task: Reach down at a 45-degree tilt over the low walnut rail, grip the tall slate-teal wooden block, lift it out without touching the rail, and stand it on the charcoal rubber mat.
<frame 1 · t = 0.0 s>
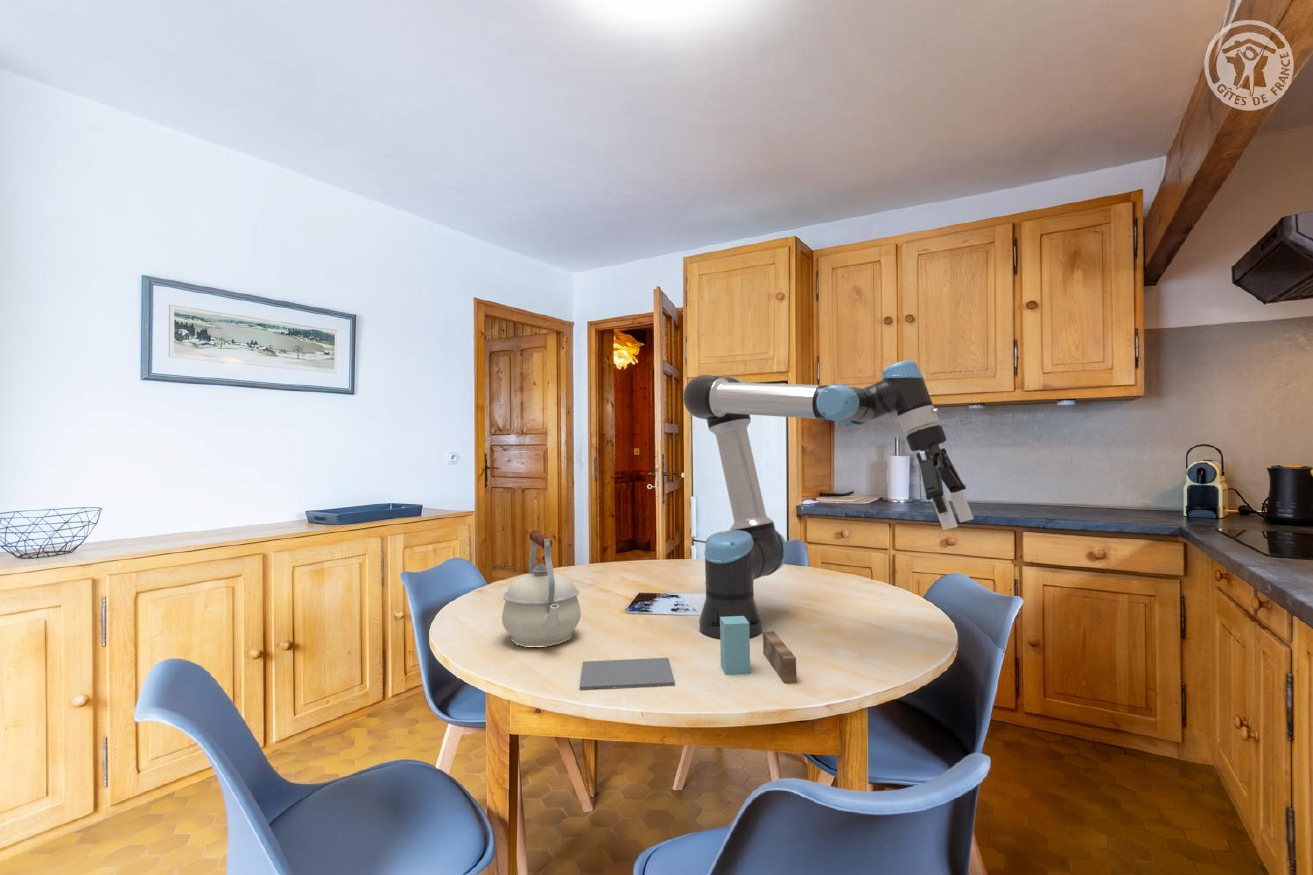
hand: (959, 524, 125), 28 cm above the table, tool tilted 20°, fingers open, 13 cm apart
rail: (778, 668, 122), on the table
kettle: (543, 641, 141), on the table
mat: (626, 674, 119), on the table
block: (735, 669, 121), on the table
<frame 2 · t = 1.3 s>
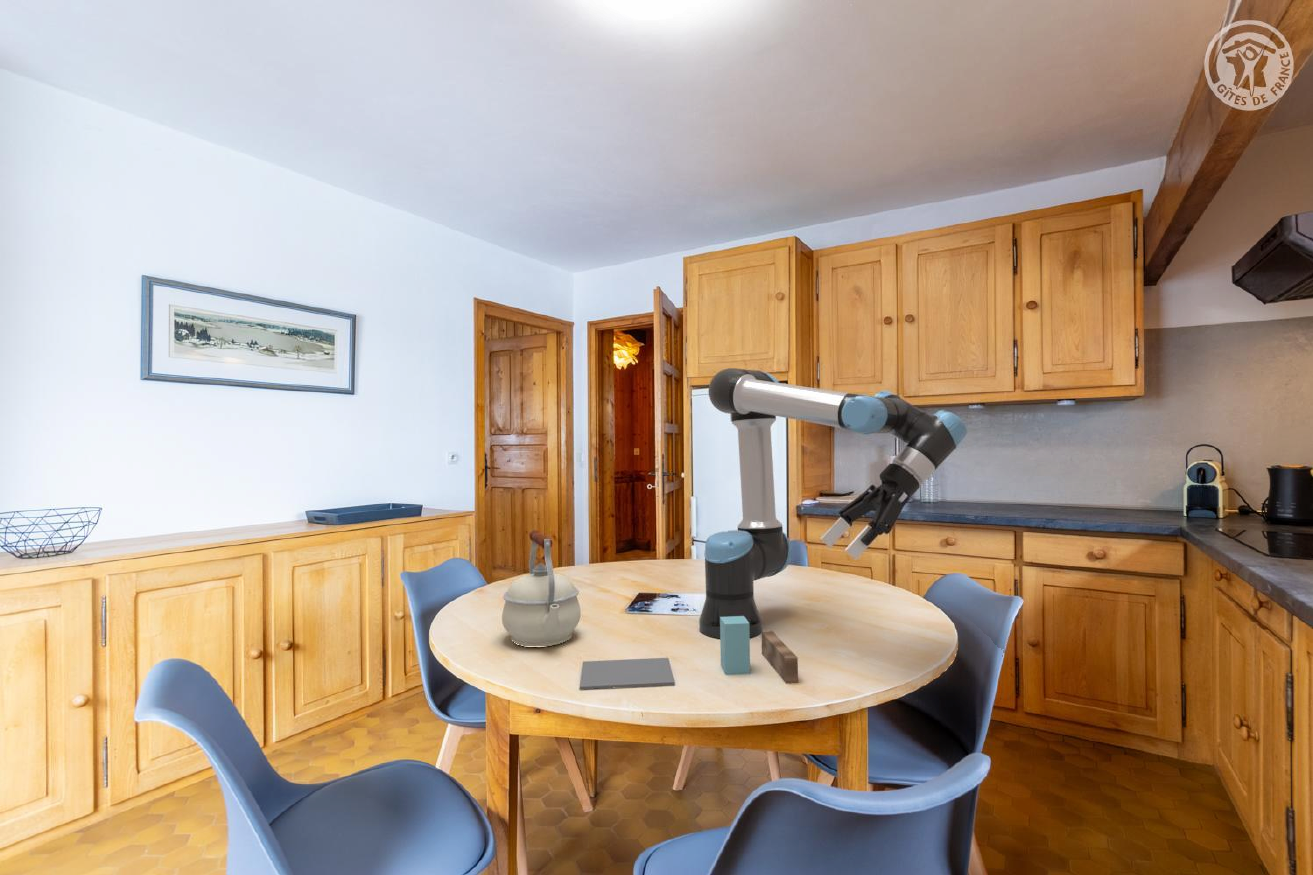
hand: (836, 548, 123), 24 cm above the table, tool tilted 45°, fingers open, 13 cm apart
nothing on the table moved.
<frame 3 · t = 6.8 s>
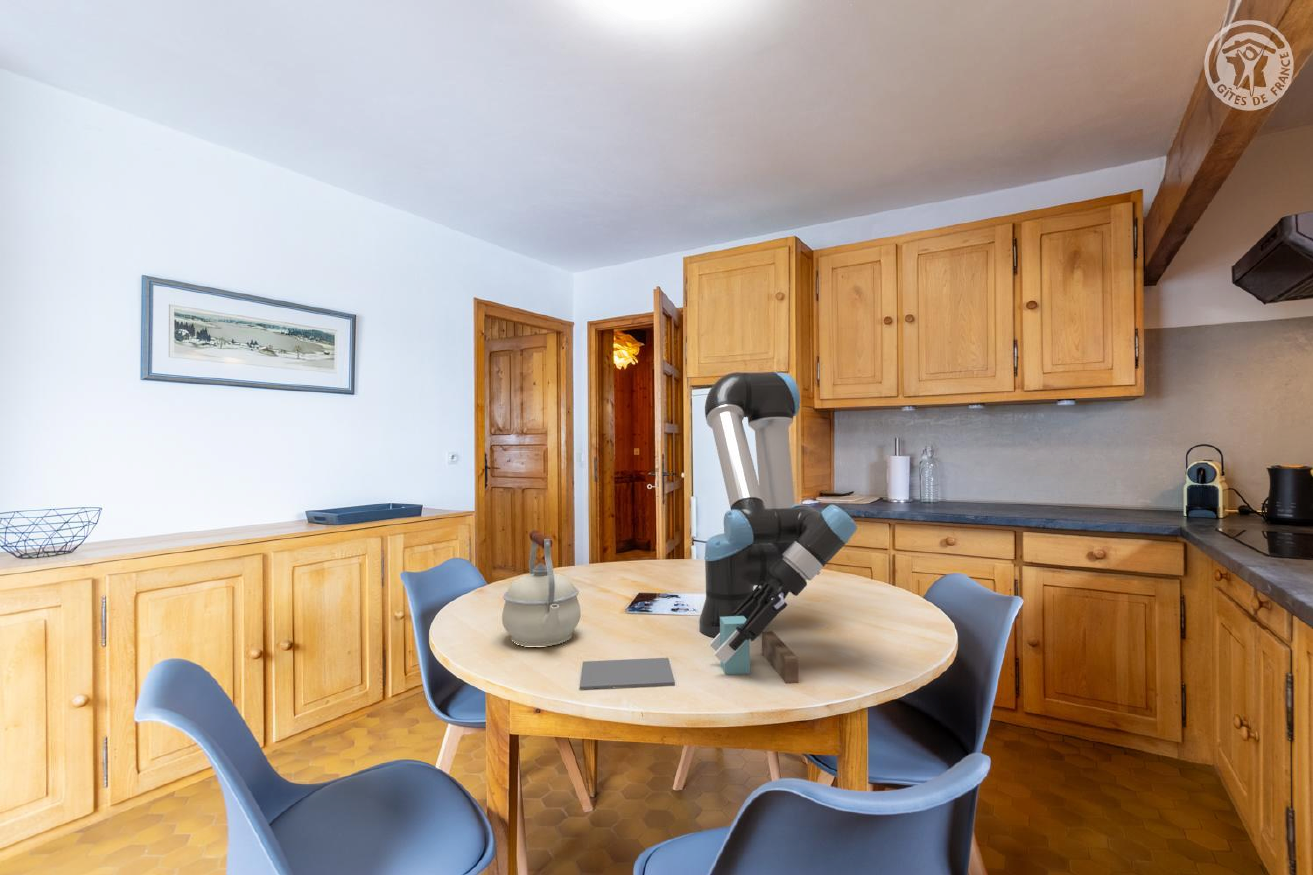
hand: (716, 653, 121), 3 cm above the table, tool tilted 45°, fingers closed on block, 5 cm apart
block: (735, 669, 121), on the table, touching gripper
everything else where it was.
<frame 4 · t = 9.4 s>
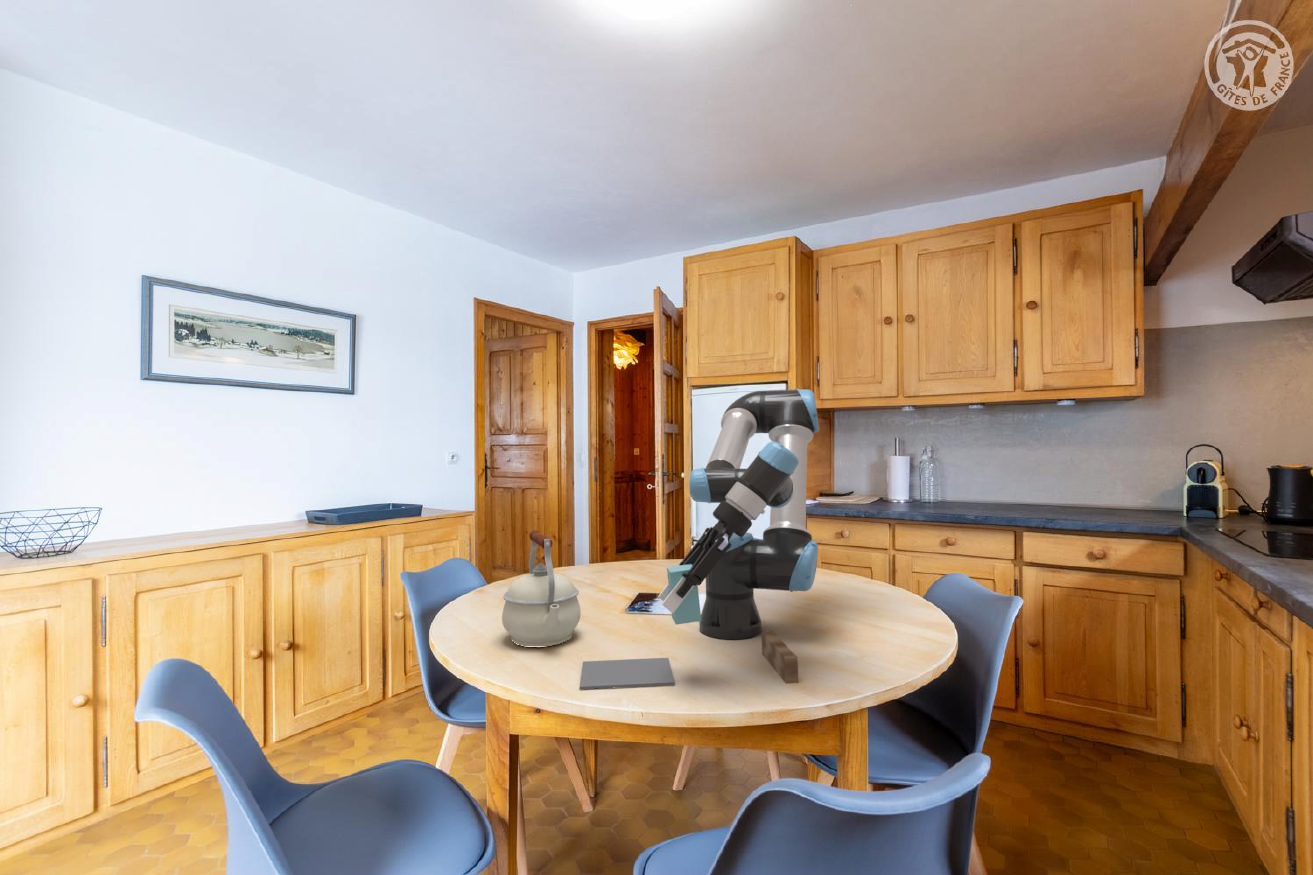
hand: (665, 604, 116), 15 cm above the table, tool tilted 40°, fingers closed on block, 5 cm apart
block: (686, 619, 117), point 12 cm above the table, tilted 5°, touching gripper
everything else where it was.
when the fingers open (5 cm above the table, at t = 12.5 s): block stays where it is, resting on mat.
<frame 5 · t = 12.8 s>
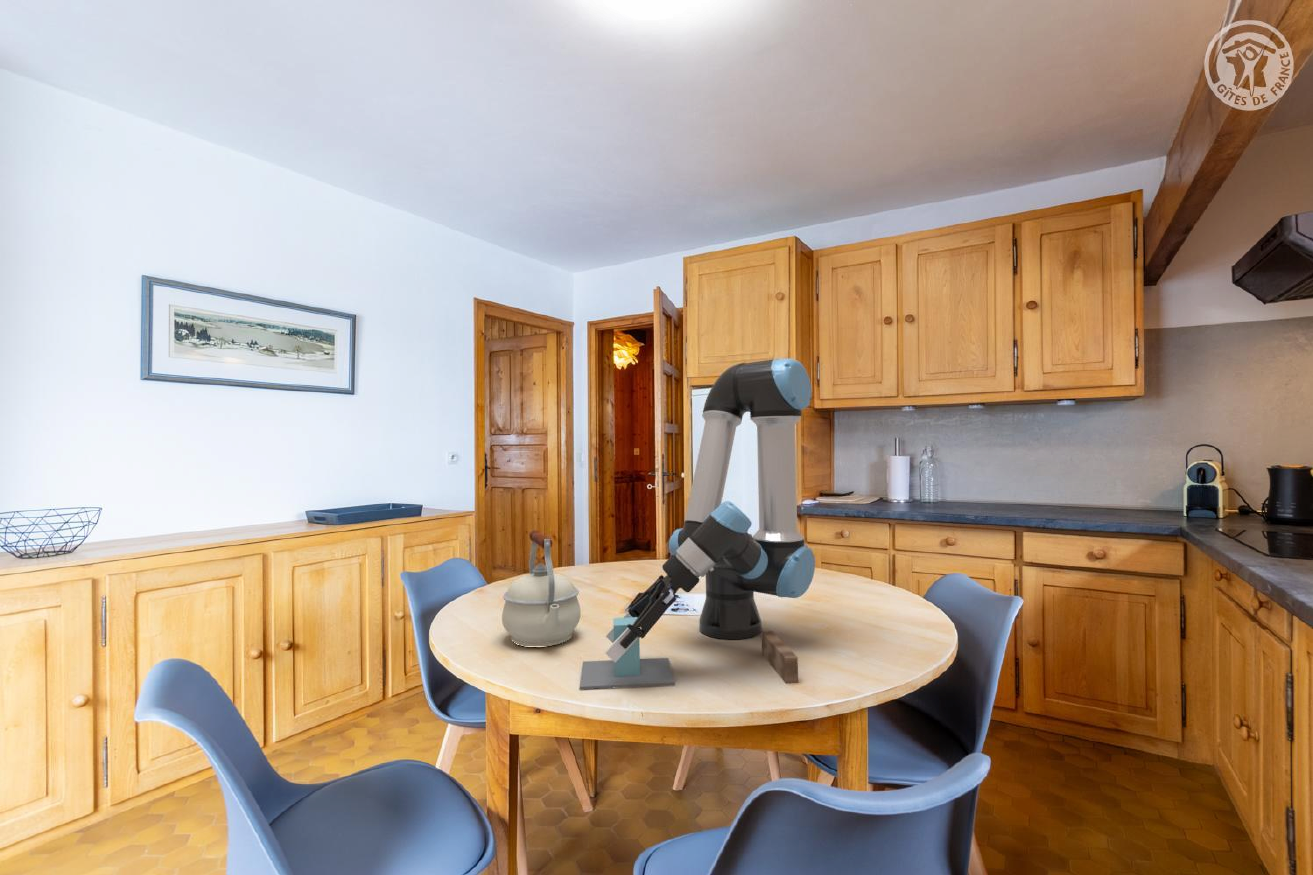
hand: (610, 648, 119), 5 cm above the table, tool tilted 45°, fingers open, 9 cm apart
block: (626, 671, 119), point 1 cm above the table, touching mat
everything else where it was.
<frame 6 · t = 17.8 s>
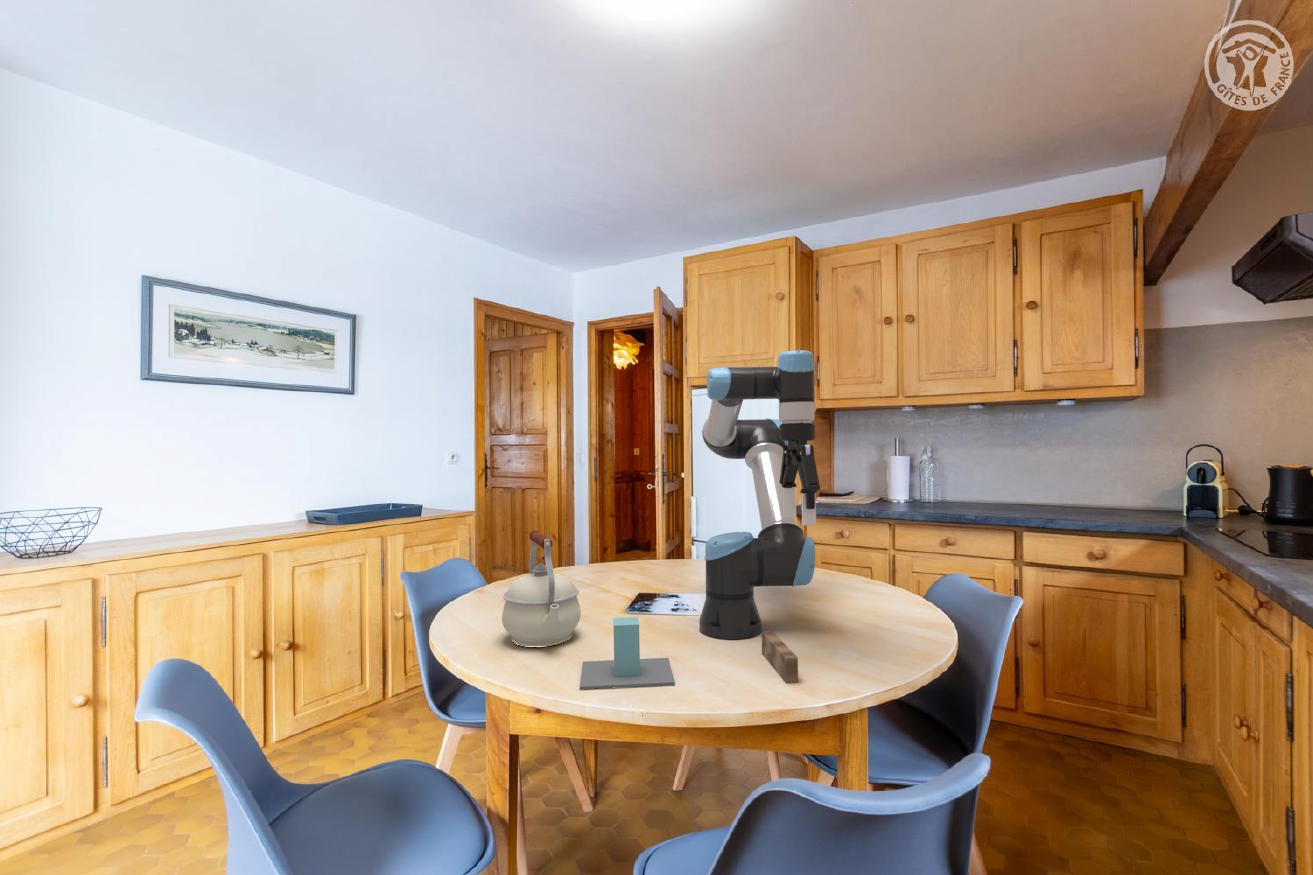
hand: (798, 520, 129), 29 cm above the table, tool pointing down, fingers open, 13 cm apart
nothing on the table moved.
at the end: block inside the target area on the mat (0.1 cm from its centre), point 0.6 cm above the mat's base; block tilted 0°; rail moved 0.3 cm from its start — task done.
